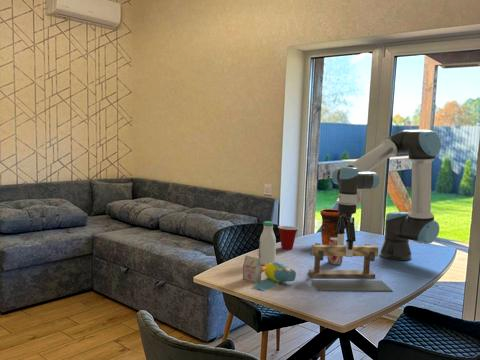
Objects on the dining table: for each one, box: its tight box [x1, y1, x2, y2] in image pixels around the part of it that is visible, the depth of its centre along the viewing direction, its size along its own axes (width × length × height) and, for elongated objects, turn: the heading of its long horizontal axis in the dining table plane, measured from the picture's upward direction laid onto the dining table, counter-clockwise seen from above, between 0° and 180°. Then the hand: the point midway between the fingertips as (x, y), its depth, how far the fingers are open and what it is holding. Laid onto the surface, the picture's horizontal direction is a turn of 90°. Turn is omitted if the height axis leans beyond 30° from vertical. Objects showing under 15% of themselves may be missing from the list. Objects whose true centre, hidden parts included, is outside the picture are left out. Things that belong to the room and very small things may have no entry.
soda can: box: [327, 237, 344, 265], centre depth 214 cm, size 7×7×12 cm
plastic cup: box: [277, 225, 299, 251], centre depth 238 cm, size 11×11×12 cm
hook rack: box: [308, 242, 376, 279], centre depth 193 cm, size 28×10×14 cm, turn 93°
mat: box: [311, 279, 393, 293], centre depth 182 cm, size 30×12×1 cm, turn 93°
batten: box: [311, 244, 379, 258], centre depth 191 cm, size 28×3×4 cm, turn 93°
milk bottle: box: [258, 220, 277, 266], centre depth 209 cm, size 8×8×20 cm
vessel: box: [319, 208, 339, 245], centre depth 246 cm, size 14×14×20 cm
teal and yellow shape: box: [251, 260, 297, 292], centre depth 185 cm, size 28×9×15 cm
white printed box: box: [242, 254, 262, 284], centre depth 186 cm, size 4×7×10 cm, turn 51°
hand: (344, 252), depth 191 cm, fingers open, 13 cm apart
